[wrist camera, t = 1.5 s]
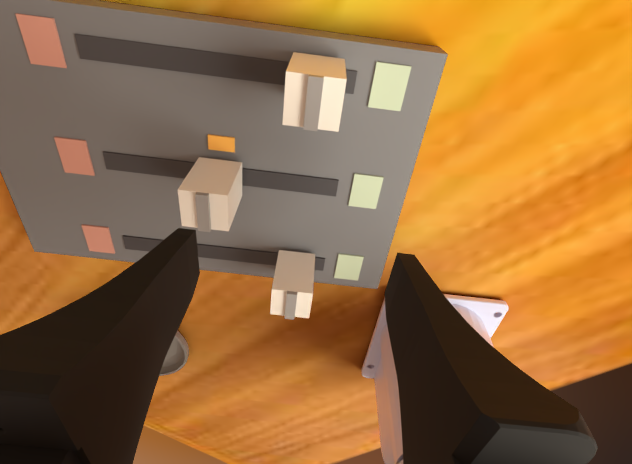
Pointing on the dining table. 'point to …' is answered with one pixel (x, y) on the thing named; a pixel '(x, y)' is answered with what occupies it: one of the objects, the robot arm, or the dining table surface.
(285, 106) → the handle
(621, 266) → the dining table surface
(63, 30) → the panel
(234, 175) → the handle
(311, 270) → the handle
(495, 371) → the robot arm
